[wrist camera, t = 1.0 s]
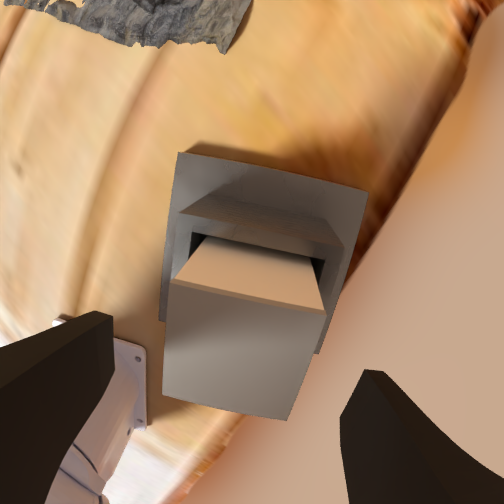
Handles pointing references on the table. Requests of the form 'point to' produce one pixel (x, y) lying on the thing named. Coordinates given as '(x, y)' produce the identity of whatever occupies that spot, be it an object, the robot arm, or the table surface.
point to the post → (241, 328)
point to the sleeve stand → (262, 218)
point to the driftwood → (151, 19)
